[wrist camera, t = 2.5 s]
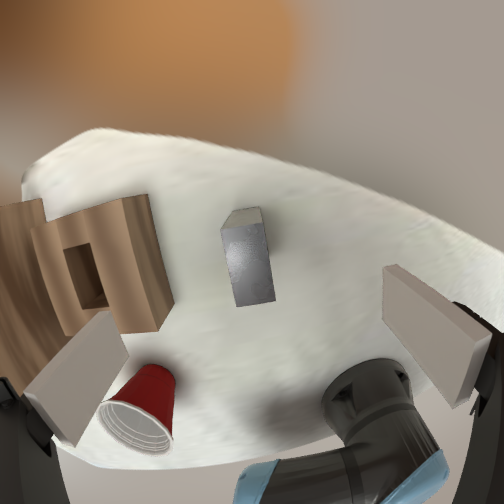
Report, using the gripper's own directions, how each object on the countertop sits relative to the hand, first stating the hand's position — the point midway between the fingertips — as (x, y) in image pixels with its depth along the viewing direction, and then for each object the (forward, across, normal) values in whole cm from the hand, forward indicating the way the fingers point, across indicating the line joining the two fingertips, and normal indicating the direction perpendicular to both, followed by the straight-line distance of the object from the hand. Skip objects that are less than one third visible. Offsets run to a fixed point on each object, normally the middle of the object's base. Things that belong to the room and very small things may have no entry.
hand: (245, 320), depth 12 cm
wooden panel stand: (+20, +21, 0) cm, 29 cm away
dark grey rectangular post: (+20, 0, 0) cm, 20 cm away
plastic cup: (+20, +18, +19) cm, 33 cm away
